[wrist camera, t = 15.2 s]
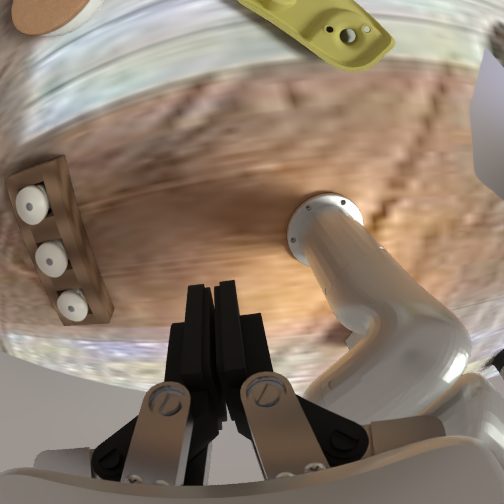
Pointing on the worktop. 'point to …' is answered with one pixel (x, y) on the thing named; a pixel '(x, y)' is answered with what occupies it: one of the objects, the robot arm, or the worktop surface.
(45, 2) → the lidded bowl
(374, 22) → the plastic component
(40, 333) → the worktop surface
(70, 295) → the knob
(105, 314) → the mount
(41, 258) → the knob
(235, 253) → the worktop surface
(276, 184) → the worktop surface
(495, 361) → the milk frother
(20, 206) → the knob
